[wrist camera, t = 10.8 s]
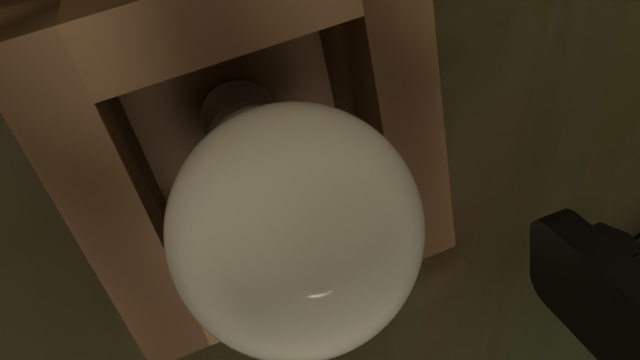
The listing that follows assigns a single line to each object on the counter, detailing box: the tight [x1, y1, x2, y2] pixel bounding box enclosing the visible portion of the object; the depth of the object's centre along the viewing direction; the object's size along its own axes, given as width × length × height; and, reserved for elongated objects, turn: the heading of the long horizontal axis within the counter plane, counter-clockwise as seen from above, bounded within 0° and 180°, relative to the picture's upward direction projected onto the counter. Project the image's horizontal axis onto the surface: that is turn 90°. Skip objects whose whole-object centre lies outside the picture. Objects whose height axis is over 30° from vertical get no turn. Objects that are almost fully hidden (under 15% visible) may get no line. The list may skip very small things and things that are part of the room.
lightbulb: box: [163, 80, 425, 360], centre depth 16 cm, size 6×6×11 cm
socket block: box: [0, 0, 456, 360], centre depth 19 cm, size 11×11×6 cm
